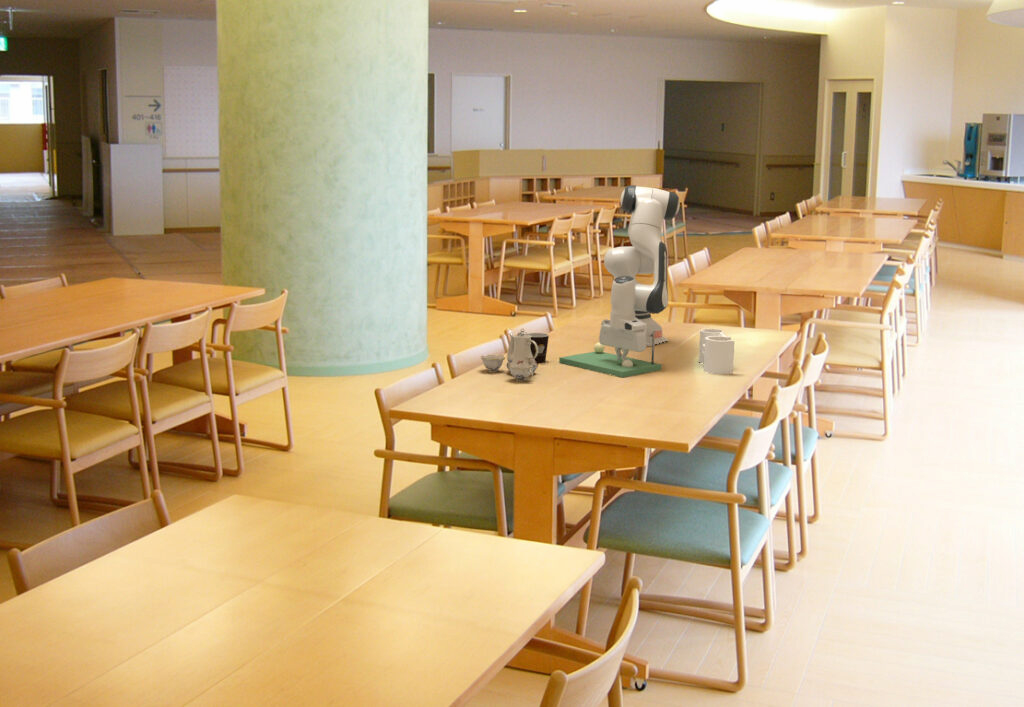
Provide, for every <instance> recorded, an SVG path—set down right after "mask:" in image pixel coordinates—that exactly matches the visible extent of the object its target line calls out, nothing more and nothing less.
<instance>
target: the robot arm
mask: <svg viewBox="0 0 1024 707" xmlns="http://www.w3.org/2000/svg"><path fill="white" fill-rule="evenodd" d="M619 200H620V206H621V207H620V208H621V210H623V212H625V213H627V214H630V215H631V216H630V220H629V223H628V224H629V225H628V229H627V235H628V237H629V241H630V244H631V245H632V246H617V247H613V248H609V249H607V251H606V252H605V255H604V257H603V264H604V267H605V269H606V270H607V272H608V273H610V274H611V275H612V276H613V277H614V279H613V281H612V284H611V291H610V305H611V310H610V314H609V316H610V317H609V318H610V319H606V318H605V319H604V320H602V321H601V323H600V330H599V336H598V341H599V342H600V344H602V345H604V346H607V347H610V348H611V347H612V348H614V351H615V355H617V360H620V361H624V360H626V357H628V354H629V352H630V351H631V352H637V353H642V352H645V350H646V348H647V347H652V331H655V332H656V331H662V337H661V338H655V339H654V346H656V345H655V344H657V345H660V344H663V343H662V342H664V343H666V342H665V341H668V342H669V338H668V337H665V336H663V328H662V326H661V324H659V323H658V322H657V321H656V320H655V319H653V318H652V315H656V314H658V315H659V314H660V313H661V312H663V311H664V310H666V308H667V307H668V304H669V291H668V290H669V289H668V250H667V246H666V244H665V243H664V242H663V241H662V236H661V232H662V226H663V220H665V221H667V220H673V219H674V218H676V216H677V214H678V213H679V210H680V207H681V206H680V204H681V202H680V197H679V195H678V194H677V193H675V192H673V191H667V190H663V189H661V188H656V187H648V186H637V185H633V184H631V185H626V187H624V189H623V191H622V192H621V195H620V199H619ZM644 274H645V275H647V274H648V275H649V274H650V275H651V274H653V283H652V284H643V283H642V282H640V281H637V278H636V275H644ZM651 314H652V315H651ZM659 343H660V344H659Z"/></svg>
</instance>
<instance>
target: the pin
mask: <svg viewBox="0 0 1024 707" xmlns="http://www.w3.org/2000/svg"><path fill="white" fill-rule="evenodd" d="M662 333H663V330H662V331H656V332H655V331H652V346H651V359H650V360H651V361H650V362H651V365H654V363H655V345H654V339H655V338H661V337H662Z"/></svg>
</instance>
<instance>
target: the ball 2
mask: <svg viewBox="0 0 1024 707" xmlns="http://www.w3.org/2000/svg"><path fill="white" fill-rule="evenodd" d="M622 366H624V367H633V363H632V361H631V360H624V361H623V362H622Z"/></svg>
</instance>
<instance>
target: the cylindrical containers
mask: <svg viewBox="0 0 1024 707" xmlns="http://www.w3.org/2000/svg"><path fill="white" fill-rule="evenodd" d="M731 339H732V337H731V336H727V335H726V334H725V332H724V331H723V330H722V329H721V328H720V329H719V328H703V329H700V330H699V349H698V352H699V353H698V363H699V362H700V363H703V364H702V365H703V372H704V371H705V372H708V373H707V374H709V373H712V374H711V375H716V374H726V375H733V374H734V372H733V371H734V358H735V357H734V356H735V355H734V354H735V340H734V339H733V340H731ZM700 363H699V364H700ZM705 372H704V373H705Z"/></svg>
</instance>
